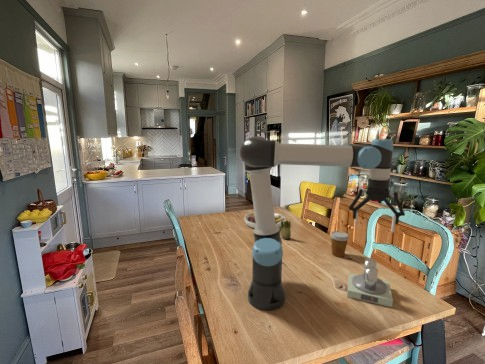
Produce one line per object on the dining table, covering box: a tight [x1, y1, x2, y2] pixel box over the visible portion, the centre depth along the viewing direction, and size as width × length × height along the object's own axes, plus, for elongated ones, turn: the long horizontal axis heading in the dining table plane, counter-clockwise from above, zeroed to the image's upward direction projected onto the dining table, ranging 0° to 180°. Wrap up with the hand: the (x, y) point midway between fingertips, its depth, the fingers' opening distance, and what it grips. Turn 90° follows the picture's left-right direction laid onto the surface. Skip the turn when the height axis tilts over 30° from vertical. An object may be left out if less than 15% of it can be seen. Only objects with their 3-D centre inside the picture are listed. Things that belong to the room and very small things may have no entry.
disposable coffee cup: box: [329, 230, 350, 258], centre depth 141 cm, size 10×10×12 cm
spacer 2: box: [364, 267, 379, 291], centre depth 104 cm, size 4×4×8 cm
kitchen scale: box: [346, 273, 394, 308], centre depth 108 cm, size 14×16×4 cm
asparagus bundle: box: [280, 220, 292, 240], centre depth 162 cm, size 6×5×12 cm
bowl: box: [244, 211, 287, 229], centre depth 189 cm, size 30×30×8 cm
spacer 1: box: [362, 258, 377, 279], centre depth 111 cm, size 4×4×8 cm
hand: (373, 228), depth 107 cm, fingers open, 13 cm apart
